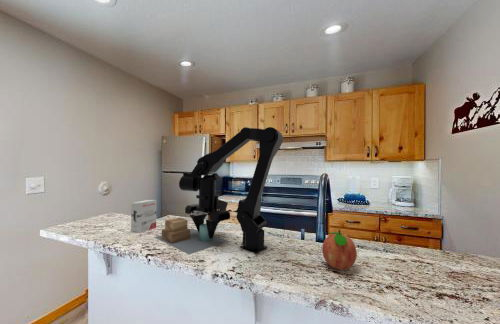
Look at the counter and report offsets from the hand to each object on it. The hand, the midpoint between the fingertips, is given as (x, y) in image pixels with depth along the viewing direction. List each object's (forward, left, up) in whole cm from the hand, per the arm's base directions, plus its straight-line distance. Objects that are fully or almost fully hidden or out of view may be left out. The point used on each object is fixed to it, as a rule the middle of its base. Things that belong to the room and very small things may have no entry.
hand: (206, 236), depth 77 cm
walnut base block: (+8, +7, -1) cm, 11 cm away
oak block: (+8, +7, +2) cm, 11 cm away
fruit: (-42, -12, -2) cm, 44 cm away
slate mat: (+4, +4, -1) cm, 5 cm away
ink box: (+27, +10, -2) cm, 29 cm away
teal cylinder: (0, 0, -1) cm, 1 cm away
